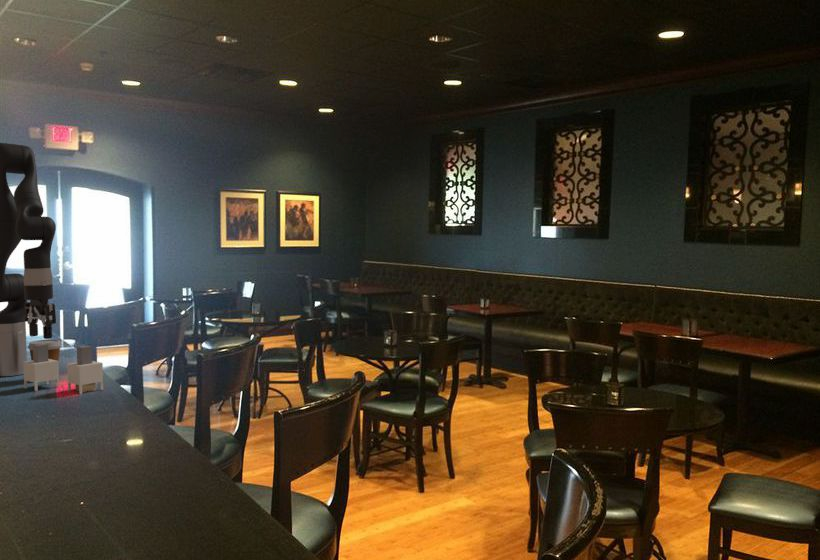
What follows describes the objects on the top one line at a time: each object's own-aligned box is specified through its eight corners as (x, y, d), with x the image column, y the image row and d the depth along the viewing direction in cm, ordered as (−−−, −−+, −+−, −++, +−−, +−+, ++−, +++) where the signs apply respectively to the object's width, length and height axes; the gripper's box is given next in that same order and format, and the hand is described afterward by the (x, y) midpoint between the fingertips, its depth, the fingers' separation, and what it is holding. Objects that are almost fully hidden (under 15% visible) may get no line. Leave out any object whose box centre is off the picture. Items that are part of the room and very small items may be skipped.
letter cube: (75, 390, 204) (75, 377, 203) (88, 388, 207) (88, 374, 206) (82, 392, 201) (82, 378, 201) (95, 390, 204) (95, 376, 204)
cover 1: (24, 388, 207) (22, 345, 206) (48, 384, 212) (46, 342, 211) (35, 391, 203) (33, 347, 202) (59, 387, 208) (57, 344, 207)
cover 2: (67, 390, 203) (66, 347, 202) (90, 386, 209) (89, 344, 208) (80, 393, 199) (78, 349, 198) (103, 389, 205) (101, 346, 204)
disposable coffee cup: (37, 383, 213) (36, 345, 213) (23, 379, 219) (22, 342, 218) (68, 378, 221) (66, 341, 220) (53, 374, 227) (52, 338, 226)
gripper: (13, 283, 207) (16, 337, 208) (37, 285, 198) (39, 340, 199) (39, 282, 213) (41, 334, 214) (63, 283, 204) (65, 337, 205)
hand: (40, 337), depth 206 cm, fingers open, 8 cm apart
